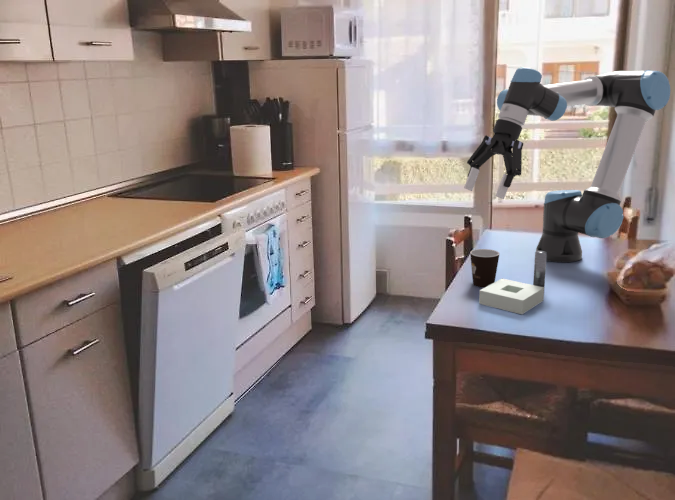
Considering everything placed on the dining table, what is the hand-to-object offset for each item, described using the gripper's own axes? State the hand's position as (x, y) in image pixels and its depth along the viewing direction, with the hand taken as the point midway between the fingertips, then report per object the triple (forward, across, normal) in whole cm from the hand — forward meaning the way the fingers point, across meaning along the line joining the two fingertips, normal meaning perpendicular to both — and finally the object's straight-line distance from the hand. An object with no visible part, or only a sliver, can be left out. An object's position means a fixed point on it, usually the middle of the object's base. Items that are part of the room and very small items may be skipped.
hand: (483, 193), depth 180 cm
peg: (+21, +10, +24) cm, 34 cm away
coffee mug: (+25, -4, +17) cm, 30 cm away
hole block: (+26, +13, +12) cm, 32 cm away
